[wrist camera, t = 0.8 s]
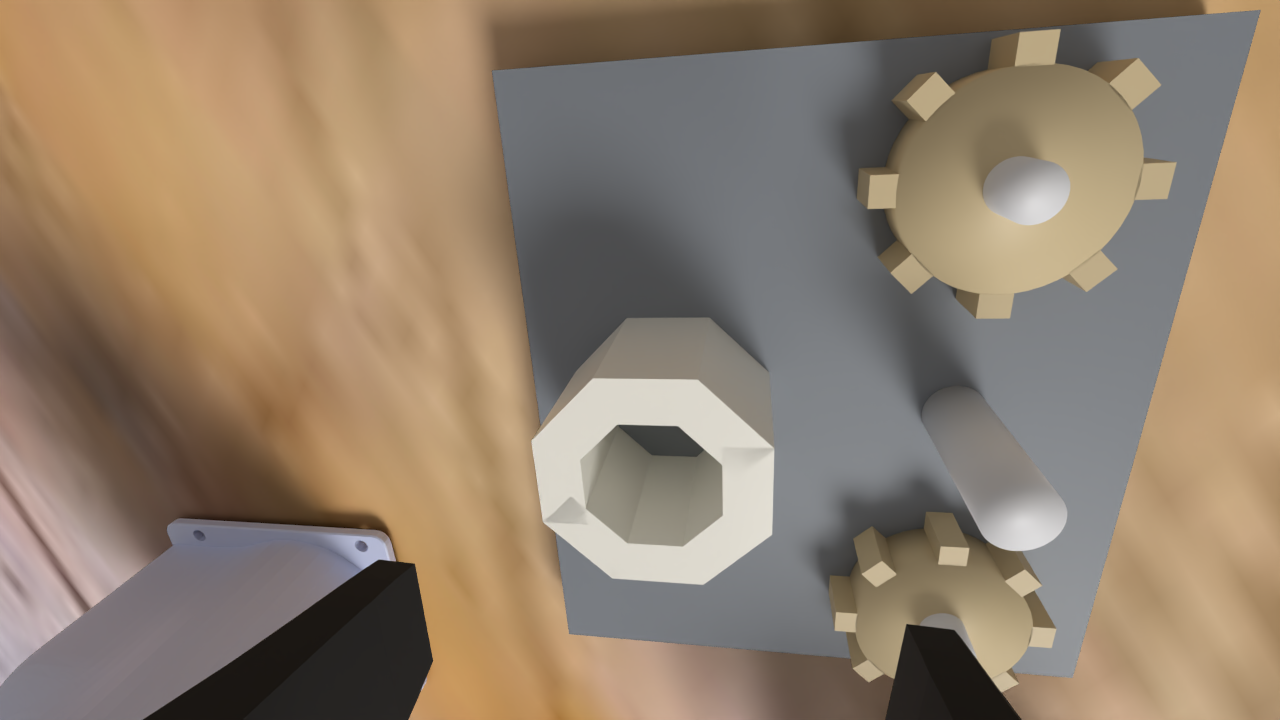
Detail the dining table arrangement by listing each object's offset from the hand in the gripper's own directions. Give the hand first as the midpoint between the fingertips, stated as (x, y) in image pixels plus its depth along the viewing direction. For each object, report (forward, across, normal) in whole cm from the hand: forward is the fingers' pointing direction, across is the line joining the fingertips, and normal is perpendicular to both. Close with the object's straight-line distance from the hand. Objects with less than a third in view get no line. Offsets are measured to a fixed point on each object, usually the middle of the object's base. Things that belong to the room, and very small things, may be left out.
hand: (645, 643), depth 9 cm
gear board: (+10, -3, 0) cm, 11 cm away
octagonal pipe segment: (+9, +1, +1) cm, 9 cm away
